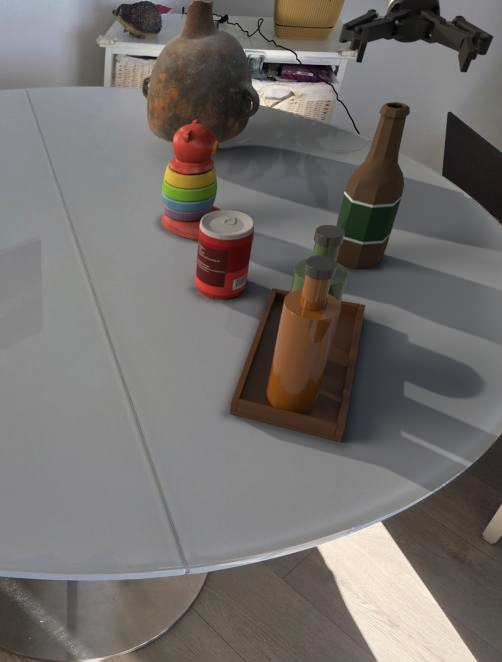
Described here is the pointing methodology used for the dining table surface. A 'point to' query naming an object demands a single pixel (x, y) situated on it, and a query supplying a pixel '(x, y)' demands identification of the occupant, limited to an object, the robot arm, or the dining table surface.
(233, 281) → the canned food
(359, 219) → the beer bottle
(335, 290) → the green bottle
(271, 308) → the tray
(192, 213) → the stacking bear
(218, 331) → the dining table surface
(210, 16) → the jug
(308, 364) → the amber bottle
